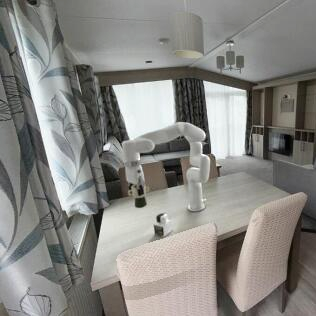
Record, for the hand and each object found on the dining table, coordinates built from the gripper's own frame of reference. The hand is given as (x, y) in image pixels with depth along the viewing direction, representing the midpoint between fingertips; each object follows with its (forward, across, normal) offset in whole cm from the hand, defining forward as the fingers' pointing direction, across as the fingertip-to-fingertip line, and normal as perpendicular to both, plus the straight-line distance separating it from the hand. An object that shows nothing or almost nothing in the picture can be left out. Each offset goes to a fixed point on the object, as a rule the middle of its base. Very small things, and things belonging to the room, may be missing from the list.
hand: (136, 193), depth 111 cm
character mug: (+9, 0, -2) cm, 9 cm away
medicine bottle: (+28, -8, -9) cm, 30 cm away
